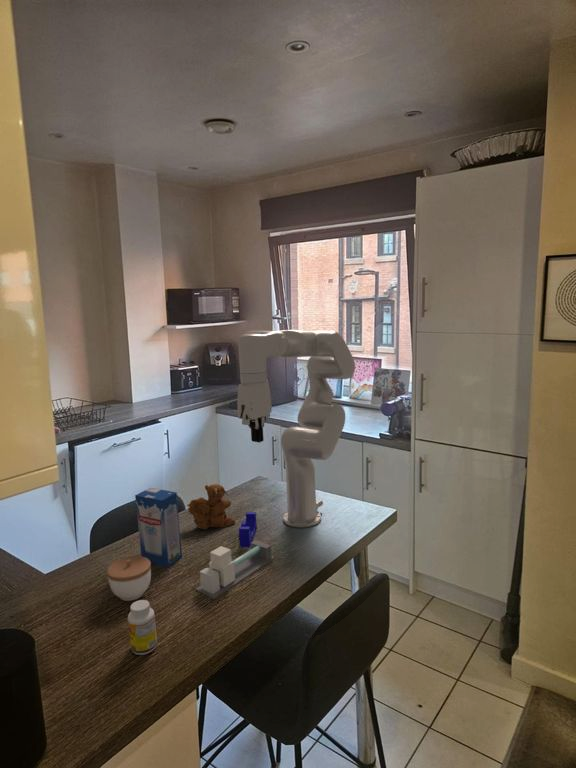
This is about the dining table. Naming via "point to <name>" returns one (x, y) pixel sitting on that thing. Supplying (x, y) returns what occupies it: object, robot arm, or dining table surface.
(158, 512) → the milk carton
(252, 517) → the blue curved block
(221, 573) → the sleeve
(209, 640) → the dining table surface
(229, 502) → the stuffed squirrel
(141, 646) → the supplement bottle
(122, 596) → the lidded jar
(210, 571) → the threaded rod slide
